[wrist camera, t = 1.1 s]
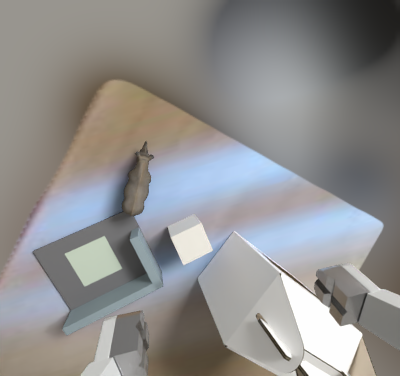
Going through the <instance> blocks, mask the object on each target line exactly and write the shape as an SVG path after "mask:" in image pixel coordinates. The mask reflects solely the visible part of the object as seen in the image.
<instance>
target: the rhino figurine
mask: <svg viewBox="0 0 400 376" xmlns="http://www.w3.org/2000/svg"><path fill="white" fill-rule="evenodd" d="M135 154H136V155H137V164H136V166H135V168H134V169H133V170H131V171H130V172H129V174H128V177H129V180H128V183H127V184H126V186H125V189H124V201H123V202H122V209H123V212H125V213H126V214H129V215H130V216H132V215H133V216H135V215H139V214H141V213H142V212H143V209H144V201H145V200H146V198H147V196H148V193H149V183H150V182H151V176H150V173H149V172H148V164H149V161H150V160H151V159H153V158H154V156H153V155H150V156H149V154H148V150H147V141H145V143H144V146H143V148H142V149H141V150H140V152H136V153H135Z"/></svg>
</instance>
